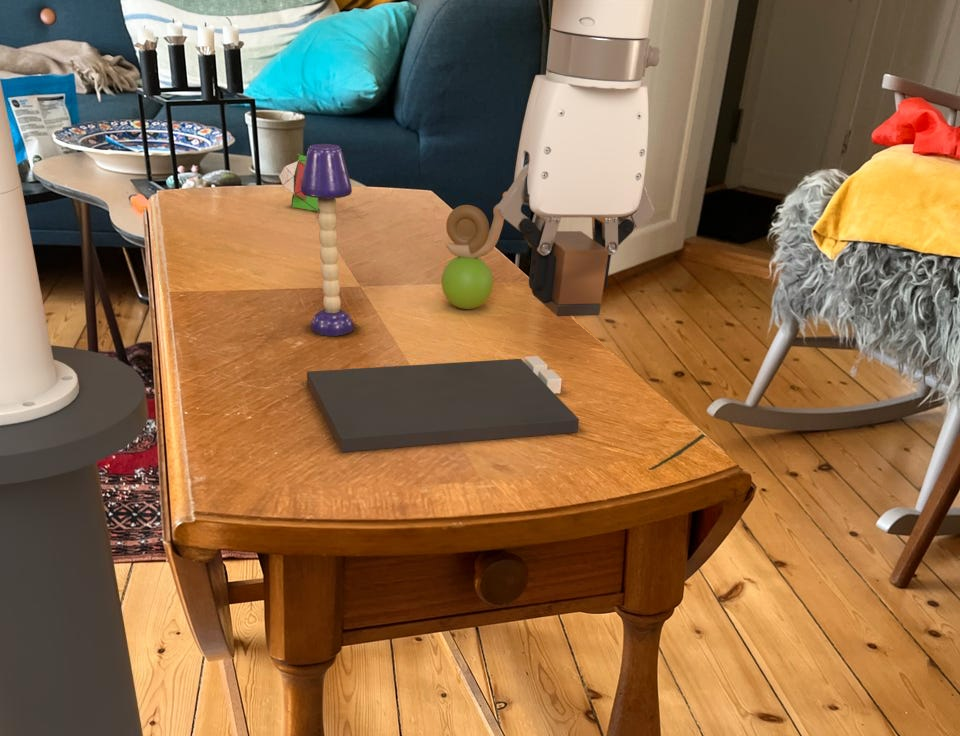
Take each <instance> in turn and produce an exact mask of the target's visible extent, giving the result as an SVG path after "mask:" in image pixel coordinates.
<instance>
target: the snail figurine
mask: <svg viewBox="0 0 960 736" xmlns="http://www.w3.org/2000/svg"><path fill="white" fill-rule="evenodd" d="M506 193H507V191H504V192H503V193H502V198H503V197H504V196H505V194H506ZM498 205H499V203H497V204H496V205H495V206H494V207H493V210H492V211H493V219H492V221H491V222H492V223H491V225H490V222H489V220H488V218H487V216H486V214H485V213H484V212H483V211H482V210H481V209H480V208H479V207H477V206H475V205H471V204H462V205H459V206H457V207H455V208H453V209H452V210H451V212H450V213H449V215H448V216H447V219H446V222H445V223H446V225H445V227H446V228H445V229H446V233H447V236H448V238H449V239H450V240H451V241H452V242H445V243H444V245H445V247H446V248H447V250H448V251H449V252H450V253H451V254H452V255H453V256H454V258H452V260H450V261H449V262H448V263H447V265H446V266H445V267H444V269H443V272H442V275H441V288H442V292H443V295H444V296H445V298H446V299H447V301H448V302H449V303H450V304H451V305H453V306H454V307H456V308H459V309H461V310H462V309H463V310H473V309H476V308H478V307H481V306H482V305H483V304H484V303H486V301H487V300H488V299H489V298H490V296H491V293H492V291H493V287H494V279H493V274H492V271H491V269H490V267H489V265H488V264H487V263H486V262H485V260H483V259H481V258H482V257H484V256H486V255H488V254H490V253H491V252H492V251H493V250H494V248H495V247H496V245H497V244H498V241H499V239H500V237H501V236H500V235H501V232H502V230H503V226H504V221H505V219H504V218H503V217H502V216H500V215H499V214H498V213H497V206H498ZM455 256H456V257H455Z"/></svg>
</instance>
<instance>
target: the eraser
mask: <svg viewBox="0 0 960 736" xmlns="http://www.w3.org/2000/svg"><path fill="white" fill-rule="evenodd" d="M608 253H609V250H608V249H606V248H605V247H603V246H602V245H600V244H599V243H597V242H596V241H594V240H593V238H591V236H588V235H587V234H585V233H584V232H583V231H581V230H575V231H573V230H572V231H571V230H566V231H565V230H564V231H563V230H557V233H556V237H555V240H554V243H553V250H552V254H553V255H554V256H556V268H555V276H554V284H553V293H552V300H551V301H550V302H549V303H543V302H541V301H540V300H539V299H538V298H537V297H536V296H535V295H533V297H535V299H537V300H538V301H539V302H540V303H541V304H543V305H544V306H545V307H546V308H547V309H548V310H549V311H550V312H551V313H553V314H554V315H555V316H556V317H584V316H585V317H587V316H588V317H589V316H600V314H601V307H602V300H603V294H604V289H603V287H604V280H605V273H606V266H607V260H608Z"/></svg>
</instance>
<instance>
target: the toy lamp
mask: <svg viewBox="0 0 960 736" xmlns="http://www.w3.org/2000/svg"><path fill="white" fill-rule="evenodd" d="M305 156H306V162H305V167H304V173H303V179H302V185H301V191H302V193H303V194H304V195H306V196H309V197H314V198H318V201H317V202H318V208H319V212H318V226H319V228H320V229H319V234H318V239H319V243H320V250H319V257H320V261H321V265H320V273H321V277H322V285H321V286H322V292H323V295H324V296H323V302H322V303H323V308H324V309H321V310H319V311H318V312H316V313H315V314H314V316H313V318H312V320H311V324H310V329H311V331H312V332H313V333H314V334H317V335H320V336H325V337H337V336H344V335H347V334H351V332H353V331H354V329H355V327H354V321H353V319H352V318H351V316H350V315H349V314H348V313H347V312H346V311H344V310H342V309H341V306H342V302H341V298H340V295H339V294H340V290H341V284H340V281H339V277H340V266H339V264H338V260H339V250H338V247H337V243H338V232H337V230H336V227H337V223H338V219H337V215H336V213H335V211H336V208H337V200H336V199H340V198H345V197H349V196H351V194H352V191H353V188H352V183H351V179H350V175H349V172H348V168H347V163H346V161H345V157H344V153H343V151H342V148H341V147H340V146H339V145H337V144H331V143H315V144H311V145H309V146H308V148H307V152H306V155H305Z"/></svg>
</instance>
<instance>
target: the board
mask: <svg viewBox="0 0 960 736" xmlns="http://www.w3.org/2000/svg"><path fill="white" fill-rule="evenodd" d="M306 384H307V386H308V389H309V391H310V392H311V394H312V396H313V398H314V401H315V402H316V404H317V407H318V408H319V411H320V412H321V414H322V416H323V419H324V420H325V422H326V424H327V427H328V429H329V430H330V432H331V435H332V437H333V439H334V440H335V443H336V445H337V446H338V449H339V451H340V452H341V453H347V452H361V451H362V452H363V451H373V450H384V449H385V450H386V449H396V448H408V447H409V448H411V447H420V446H421V447H422V446H433V445H444V444H445V445H446V444H457V443H467V442H479V441H480V442H481V441H491V440H504V439H513V438H527V437H538V436H549V435H550V436H551V435H552V436H553V435H563V434H564V435H565V434H573V433H574V434H575V433H578V432H579V430H578V429H579V423H580V418H579V417H577V415H576V414H575V413H574V412H573V411H572V410H571V409H570V408H569V407H568V406H567V405H566V404H565V403H564V402H563V401H562V399H560V398H559V397H558V396H557V394H554V393H553V392H552V391H551V390H550V389H549V388H548V387H547V386H546V384H545V383H544V382H543V381H542V380H541V379H540V378H539V377H538V376H537V375H536V374H535V373H534V372H533V371H532V370H531V369H530V368H529V367H528V366H527V365H526V364H525V363H524V360H522V359H521V358H510V359H509V358H508V359H492V360H490V359H489V360H474V361H473V360H472V361H459V362H441V363H423V364H410V365H409V364H408V365H394V366H393V365H391V366H376V367H360V368H359V367H358V368H343V369H328V370H309V371H306Z"/></svg>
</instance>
